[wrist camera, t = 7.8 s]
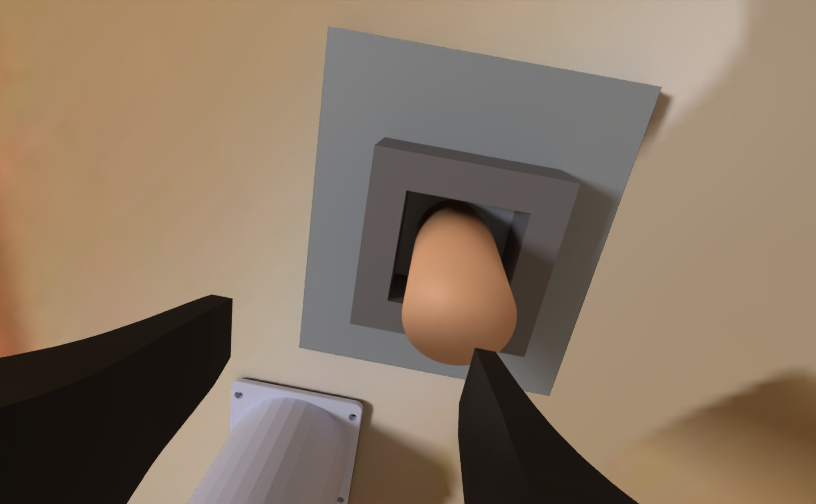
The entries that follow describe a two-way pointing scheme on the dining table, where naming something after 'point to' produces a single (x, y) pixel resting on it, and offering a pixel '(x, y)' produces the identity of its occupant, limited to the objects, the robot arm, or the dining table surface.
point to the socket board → (461, 189)
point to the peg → (457, 286)
